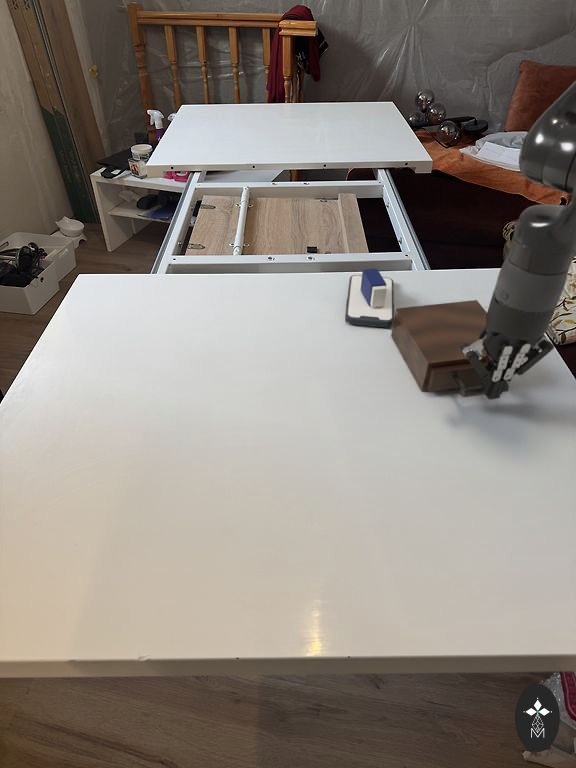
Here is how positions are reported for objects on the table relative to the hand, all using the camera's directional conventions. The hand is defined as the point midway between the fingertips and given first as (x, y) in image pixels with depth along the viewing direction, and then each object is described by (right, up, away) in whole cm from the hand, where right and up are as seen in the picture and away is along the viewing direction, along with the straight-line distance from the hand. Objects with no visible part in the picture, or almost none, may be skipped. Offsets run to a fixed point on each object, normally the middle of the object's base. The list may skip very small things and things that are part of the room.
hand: (490, 395), depth 77 cm
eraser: (-14, +18, +23) cm, 32 cm away
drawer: (-2, +4, +9) cm, 10 cm away
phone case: (-14, +17, +25) cm, 33 cm away
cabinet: (-3, +6, +12) cm, 14 cm away
